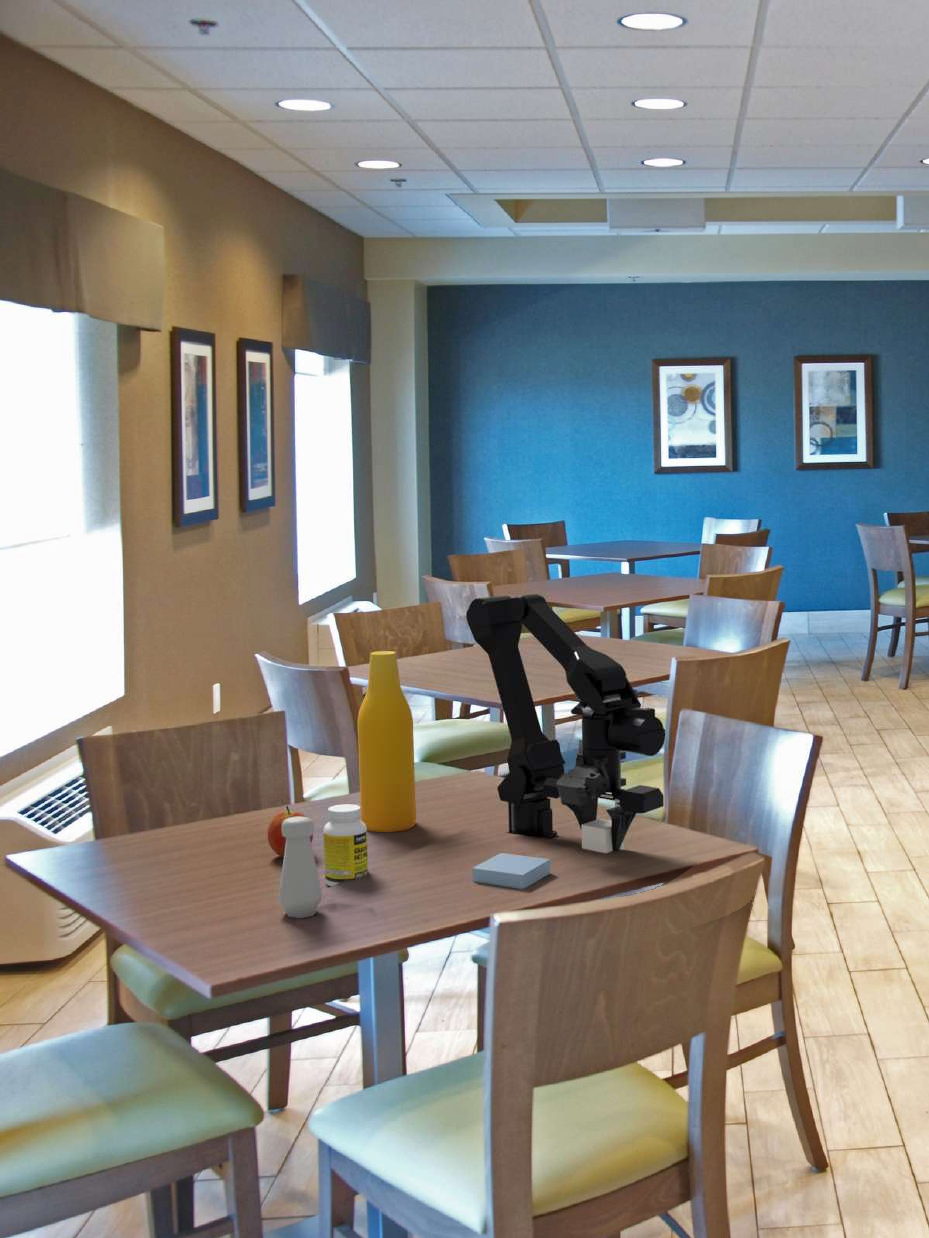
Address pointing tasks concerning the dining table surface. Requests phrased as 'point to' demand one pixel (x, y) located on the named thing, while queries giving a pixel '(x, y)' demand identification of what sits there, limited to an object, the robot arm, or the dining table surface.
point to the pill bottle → (345, 845)
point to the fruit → (280, 831)
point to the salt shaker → (299, 870)
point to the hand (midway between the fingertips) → (602, 848)
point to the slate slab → (511, 870)
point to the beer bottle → (386, 750)
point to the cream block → (598, 836)
